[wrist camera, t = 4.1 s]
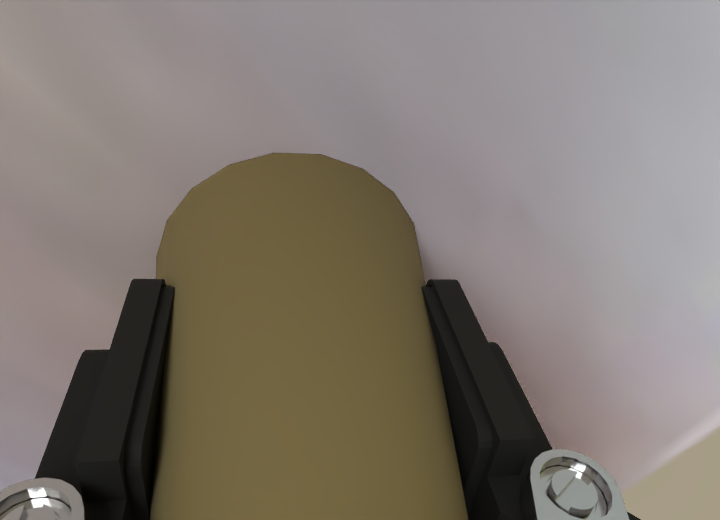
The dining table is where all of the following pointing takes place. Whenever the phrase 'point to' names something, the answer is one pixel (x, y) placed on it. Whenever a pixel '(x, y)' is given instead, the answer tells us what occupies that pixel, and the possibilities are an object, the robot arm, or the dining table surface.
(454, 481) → the cork
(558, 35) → the dining table surface
